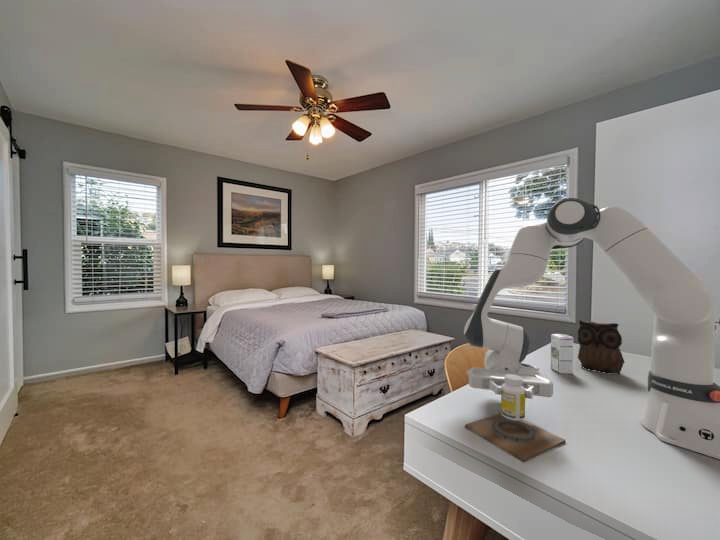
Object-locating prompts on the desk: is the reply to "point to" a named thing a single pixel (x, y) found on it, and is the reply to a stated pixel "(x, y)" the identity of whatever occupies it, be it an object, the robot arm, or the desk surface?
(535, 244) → the robot arm
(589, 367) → the owl
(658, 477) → the desk surface
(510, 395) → the supplement bottle
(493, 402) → the desk surface
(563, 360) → the syrup box
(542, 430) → the board
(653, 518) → the desk surface
